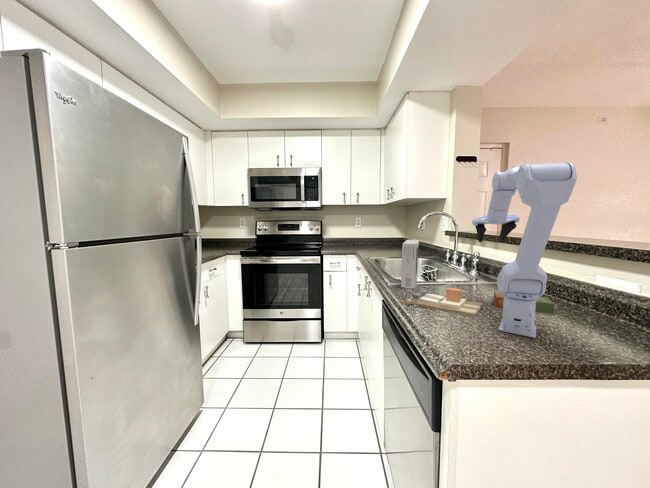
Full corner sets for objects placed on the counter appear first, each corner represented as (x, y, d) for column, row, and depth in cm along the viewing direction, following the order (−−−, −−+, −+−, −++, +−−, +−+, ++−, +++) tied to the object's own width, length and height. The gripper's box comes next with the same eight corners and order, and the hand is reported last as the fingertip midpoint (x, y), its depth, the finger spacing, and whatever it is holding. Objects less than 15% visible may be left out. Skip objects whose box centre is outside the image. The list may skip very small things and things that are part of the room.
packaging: (415, 289, 120) (417, 243, 118) (400, 288, 122) (402, 243, 120) (417, 277, 148) (419, 239, 146) (405, 276, 150) (406, 239, 148)
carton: (493, 302, 102) (493, 291, 102) (547, 309, 95) (548, 296, 95) (495, 308, 95) (496, 296, 94) (554, 316, 87) (555, 302, 87)
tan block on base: (459, 308, 89) (460, 293, 89) (440, 305, 93) (440, 290, 92) (465, 301, 97) (466, 287, 97) (447, 298, 101) (448, 285, 100)
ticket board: (474, 317, 85) (475, 306, 85) (405, 303, 98) (405, 295, 98) (481, 306, 96) (482, 297, 96) (418, 295, 109) (418, 287, 109)
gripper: (516, 199, 95) (506, 232, 103) (471, 203, 97) (465, 235, 105) (527, 208, 90) (516, 243, 97) (480, 213, 91) (472, 246, 99)
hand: (490, 239), depth 101 cm, fingers open, 7 cm apart
